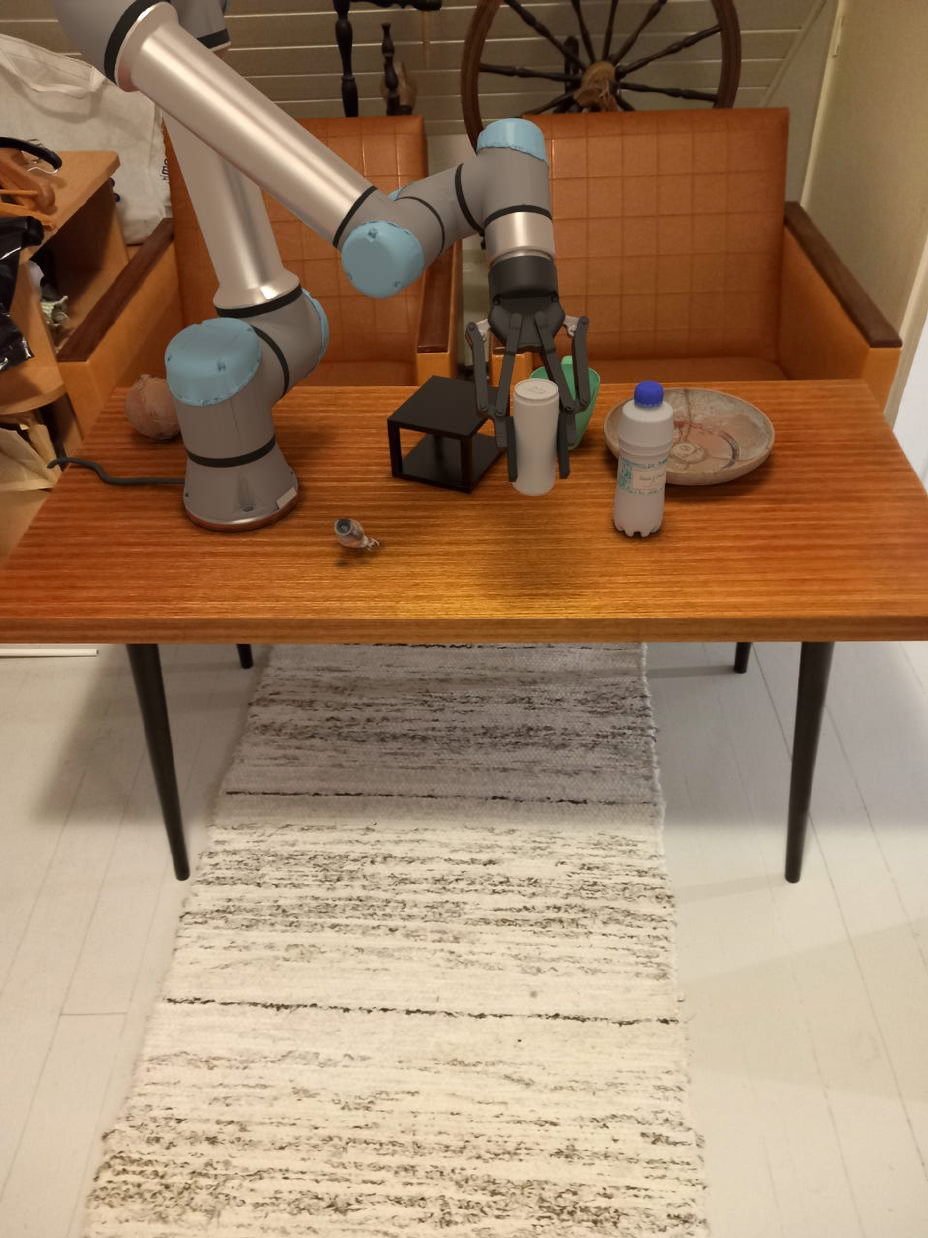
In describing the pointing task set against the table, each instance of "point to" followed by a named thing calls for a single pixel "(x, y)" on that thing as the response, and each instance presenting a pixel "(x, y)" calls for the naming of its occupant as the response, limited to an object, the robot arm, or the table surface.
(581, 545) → the table surface
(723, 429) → the ceramic bowl
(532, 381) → the beverage can
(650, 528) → the bottle
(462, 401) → the rack
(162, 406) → the onion
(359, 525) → the seashell
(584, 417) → the mug
